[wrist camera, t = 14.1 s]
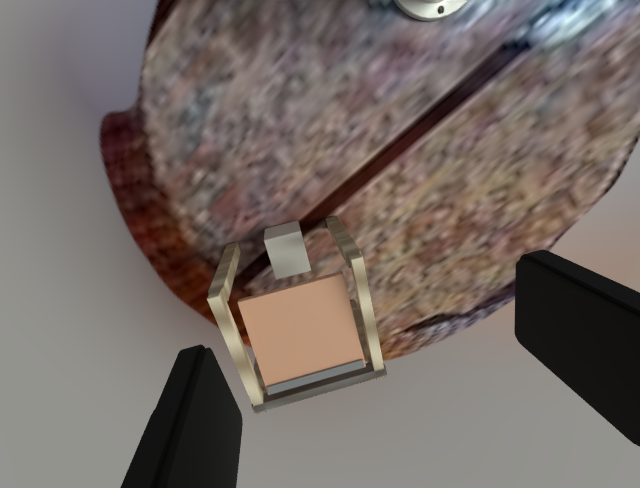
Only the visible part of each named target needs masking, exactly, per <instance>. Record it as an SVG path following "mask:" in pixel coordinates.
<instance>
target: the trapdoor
mask: <svg viewBox="0 0 640 488" xmlns="http://www.w3.org/2000/svg"><path fill="white" fill-rule="evenodd" d="M238 305H239V308H240V311H241V314H242V317H243V320H244V323H245V326H246V329H247V332H248V335H249V339H250V342H251V345H252V348H253V351H254V353H255V357H256V360H257V363H258V366H259V369H260V372H261V375H262V378H263V381H264V384H265V387H266V390H267V393H268V395H271V394H274V393H278V392H281V391H285V390H288V389H291V388H295V387H298V386H302V385H305V384H309V383H312V382H316V381H319V380H323V379H326V378H329V377H333V376H336V375H340V374H343V373H347V372H350V371H354V370H357V369H361V368H364V367H366V364H365V360H364V356H363V352H362V348H361V344H360V340H359V336H358V332H357V328H356V324H355V320H354V316H353V311H352V307H351V303H350V299H349V295H348V291H347V287H346V283H345V279H344V275H343V272H342V271H340V272H337V273H333V274H329V275H326V276H322V277H319V278H315V279H311V280H308V281H304V282H300V283H297V284H293V285H289V286H286V287H282V288H278V289H275V290H271V291H267V292H264V293H260V294H256V295H253V296H249V297H245V298H242V299H239V300H238Z"/></svg>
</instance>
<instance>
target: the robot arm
mask: <svg viewBox="0 0 640 488" xmlns="http://www.w3.org/2000/svg"><path fill="white" fill-rule="evenodd" d="M467 1H468V0H394V2H395V3H396V5H397V6H398V7H399V8H400V9H401V10H402V11H403V12H404V13H406V14H407V15H409V16H411V17H412V18H415V19H418V20H421V21H435V20H440V19H443V18H445V17H447V16H449V15H451V14H452V13H454V12H456V11H457V10H458V9H460V8H461V7H462V6H463V5H464V4H465V3H466V2H467ZM437 10H438V11H439V13H438V11H437ZM515 336H516V338H517V340H518V341H519V343H520V344H521V345H522V346H523V347H525V348H526V349H527V350H528V351H529V352H530V353H532V355H534V356H535V357H536V358H537V359H538V360H539V361H540V362H542V363H543V364H544V365H545V366H546V367H547V368H548V369H550V370H551V371H552V372H553V373H554V374H555V375H556V376H557V377H559V378H560V379H561V380H562V381H563V382H564V383H565V384H566V385H568V386H569V387H570V388H571V389H572V390H573V391H574V392H576V393H577V394H578V395H579V396H580V397H581V398H583V400H585V401H586V402H587V403H588V404H589V405H590V406H592V407H593V408H594V409H595V410H596V411H597V412H598V413H599V414H600V415H602V416H603V417H604V418H605V419H606V420H607V421H608V422H610V423H611V424H612V425H613V426H614V427H615V428H616V429H618V430H619V431H620V432H621V433H622V434H623V435H624V436H625V437H627V438H628V439H629V440H630V441H631V442H633V443H634V444H636V445H638V446H640V293H639V292H637V291H635V290H633V289H630V288H628V287H626V286H624V285H622V284H619V283H617V282H615V281H613V280H611V279H608V278H606V277H604V276H602V275H600V274H597V273H595V272H593V271H591V270H589V269H586V268H584V267H582V266H580V265H578V264H575V263H573V262H571V261H569V260H567V259H564V258H562V257H560V256H558V255H555V254H553V253H551V252H549V251H547V250H538V251H535V252H531V253H527V254H524V255H522V256H521V257H520V260H519V261H518V262H517V264H516V286H515ZM241 435H242V415H241V412H240V410H239V408H238V405H237V403H236V401H235V399H234V397H233V395H232V392H231V390H230V388H229V386H228V384H227V382H226V379H225V377H224V375H223V373H222V371H221V368H220V366H219V364H218V362H217V360H216V358H215V355H214V354H213V351H212V350H211V348H206V349H205V347H204V346H203V345H198V346H194V347H190V348H187V349H183V350H181V351H180V352H179V354H178V356H177V358H176V361H175V363H174V366H173V368H172V370H171V373H170V375H169V377H168V380H167V383H166V385H165V387H164V389H163V392H162V394H161V397H160V399H159V401H158V404H157V406H156V409H155V410H154V411H153V413H152V415H151V417H150V419H149V422H148V424H147V426H146V429H145V431H144V434H143V436H142V438H141V440H140V443H139V445H138V448H137V450H136V452H135V455H134V457H133V459H132V462H131V464H130V467H129V469H128V471H127V473H126V476H125V479H124V481H123V483H122V486H121V488H236V482H237V473H238V463H239V454H240V444H241Z"/></svg>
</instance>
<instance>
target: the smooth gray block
mask: <svg viewBox="0 0 640 488" xmlns="http://www.w3.org/2000/svg"><path fill="white" fill-rule="evenodd" d="M264 242H265V245H266V249H267V252H268V255H269V258H270V261H271V265H272V268H273V271H274V274H275V277H276V279H280V278H284V277H288V276H292V275H295V274H299V273H303V272H307V271H310V270H311V268H310V264H309V261H308V257H307V253H306V249H305V245H304V241H303V238H302V234H301V230H300V226H299V222H298V220H297V221H293V222H289V223H286V224H282V225H278V226H274V227H270V228H266V229H265V234H264Z"/></svg>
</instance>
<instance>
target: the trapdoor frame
mask: <svg viewBox="0 0 640 488" xmlns="http://www.w3.org/2000/svg"><path fill="white" fill-rule="evenodd" d="M326 222H327V226H328V229H329V231H330V233H331V235H332V237H333V239H334V241H335V242H336V244H337V246H338V248H339V250H340V252H341V254H342V256H343V257H344V259H345V261H346V263H347V265H348V267H349V268H351V270H352V275H353V280H354V285H355V289H356V294H357V299H358V303H359V308H360V311H359V309H358V306H357V304H356V302H355V300H351V301H350V303H351V307H352V311H353V316H354V320H355V324H356V328H357V332H358V336H359V340H360V344H361V347H362V349H363V352H364V354H365V357H366V359H367V362H368V363H367V364H366V367H364V368H361V369H357V370H354V371H350V372H347V373H343V374H340V375H336V376H333V377H329V378H326V379H323V380H319V381H316V382H312V383H309V384H305V385H302V386H298V387H295V388H291V389H288V390H285V391H281V392H278V393H274V394H271V395H268V393H267V390H266V387H265V384H264V381H263V378H262V375H261V372H260V369H259V366H258V363H257V360H256V357H255V364H254V368H253V366H252V363H251V361H250V358H249V356H248V354H247V351H246V349H245V346H244V344H243V341H242V339H241V336H240V334H239V331H238V329H237V326H236V324H235V322H234V319H233V317H232V314H231V312H230V309H229V307H228V304H227V302H226V301H228V300H229V296H230V292H231V288H232V284H233V281H234V277H235V273H236V269H237V265H238V261H239V257H240V253H241V250H240V247H239V245H238V242H235V243H231V244H227V245H226V248H225V251H224V253H223V256H222V258H221V261H220V263H219V266H218V268H217V271H216V273H215V276H214V278H213V281H212V284H211V286H210V289H209V291H208V293H209V296H208V298H207V300H208V303H209V305H210V307H211V310H212V312H213V314H214V316H215V319H216V321H217V323H218V326H219V328H220V330H221V333H222V335H223V337H224V340H225V342H226V344H227V346H228V349H229V351H230V353H231V356H232V358H233V360H234V363H235V365H236V367H237V369H238V372H239V374H240V376H241V379H242V381H243V383H244V386H245V388H246V390H247V393H248V395H249V397H250V399H251V402H252V408H253V411H254V413H257V414H260V413H263V412H266V411H267V410H269V409H272V408H276V407H279V406H282V405H286V404H289V403H293V402H296V401H300V400H303V399H307V398H310V397H313V396H317V395H320V394H323V393H327V392H331V391H334V390H337V389H341V388H344V387H347V386H351V385H354V384H358V383H361V382H365V381H368V380H371V379H375V378H376V379H380V378H383V377H385V376H386V375H387V372H386V367H385V365H384V363H383V360H382V355H381V349H380V344H379V339H378V334H377V329H376V324H375V318H374V313H373V308H372V303H371V298H370V293H369V287H368V282H367V277H366V272H365V267H364V261H363V257H362V255H361V251H360V249H359V248H358V246H357V245H356V244H355V242H354V241H353V239H352V238H351V236H350V235H349V234H348V232H347V231H346V229H345V228H344V226H343V225H342V224H341V222H340V221H339V219H338V218H337V216H333V217H330V218H326Z"/></svg>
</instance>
